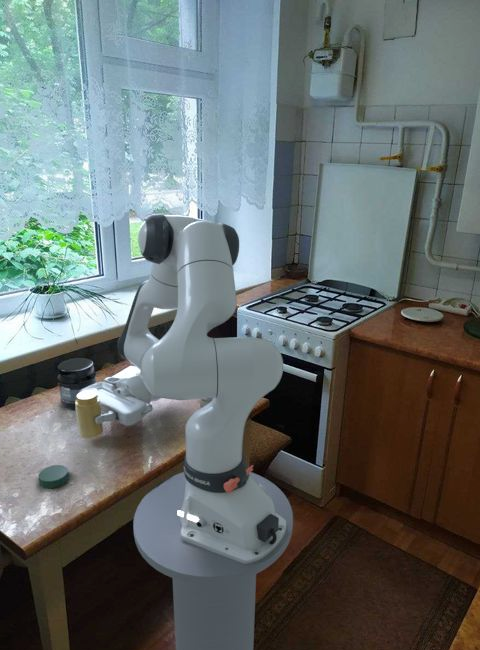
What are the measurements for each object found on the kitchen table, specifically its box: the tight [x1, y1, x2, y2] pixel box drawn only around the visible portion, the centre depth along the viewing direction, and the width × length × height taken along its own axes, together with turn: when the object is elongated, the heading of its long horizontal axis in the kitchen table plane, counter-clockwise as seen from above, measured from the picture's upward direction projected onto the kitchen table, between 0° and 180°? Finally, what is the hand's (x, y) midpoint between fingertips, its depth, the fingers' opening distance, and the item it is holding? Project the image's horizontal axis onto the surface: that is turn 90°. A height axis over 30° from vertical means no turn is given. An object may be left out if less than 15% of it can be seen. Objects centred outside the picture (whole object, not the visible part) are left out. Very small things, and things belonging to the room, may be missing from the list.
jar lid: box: [38, 464, 70, 489], centre depth 111 cm, size 6×6×2 cm
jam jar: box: [75, 390, 104, 439], centre depth 123 cm, size 6×6×11 cm
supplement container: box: [57, 357, 98, 410], centre depth 143 cm, size 10×10×12 cm
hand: (85, 416), depth 123 cm, fingers closed on jam jar, 6 cm apart
